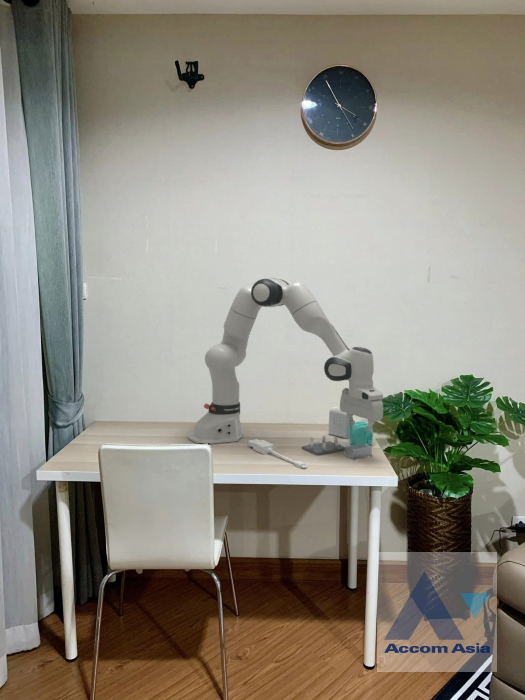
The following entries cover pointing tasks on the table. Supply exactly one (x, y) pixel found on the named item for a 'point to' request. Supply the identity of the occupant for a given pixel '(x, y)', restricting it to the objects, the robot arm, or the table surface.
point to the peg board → (323, 447)
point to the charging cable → (271, 451)
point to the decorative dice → (360, 434)
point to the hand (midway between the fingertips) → (360, 427)
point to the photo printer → (338, 423)
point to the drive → (358, 451)
